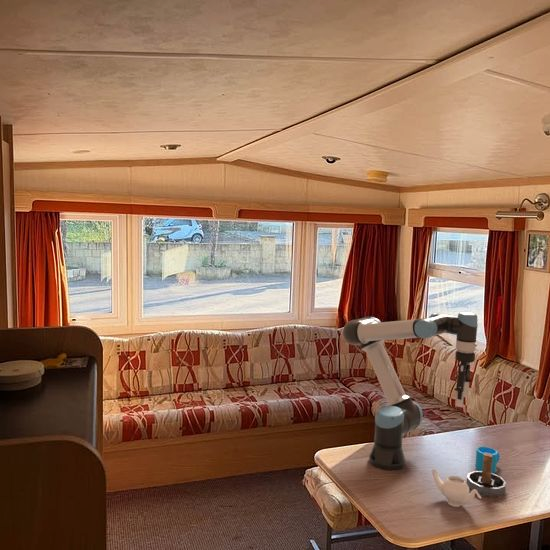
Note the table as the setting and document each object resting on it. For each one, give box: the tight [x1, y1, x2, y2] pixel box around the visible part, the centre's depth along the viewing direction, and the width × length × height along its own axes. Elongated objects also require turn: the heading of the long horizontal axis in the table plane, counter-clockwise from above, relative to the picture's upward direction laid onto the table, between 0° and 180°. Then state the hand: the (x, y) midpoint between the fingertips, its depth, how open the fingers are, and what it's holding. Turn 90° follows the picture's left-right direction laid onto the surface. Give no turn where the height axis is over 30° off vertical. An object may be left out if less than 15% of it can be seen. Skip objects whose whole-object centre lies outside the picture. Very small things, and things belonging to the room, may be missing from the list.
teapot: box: [431, 469, 482, 508], centre depth 198 cm, size 10×20×9 cm, turn 42°
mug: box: [475, 446, 500, 474], centre depth 228 cm, size 12×8×8 cm
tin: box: [466, 470, 507, 498], centre depth 211 cm, size 14×14×4 cm
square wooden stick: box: [482, 452, 493, 484], centre depth 210 cm, size 3×3×13 cm
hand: (462, 401), depth 219 cm, fingers open, 13 cm apart
